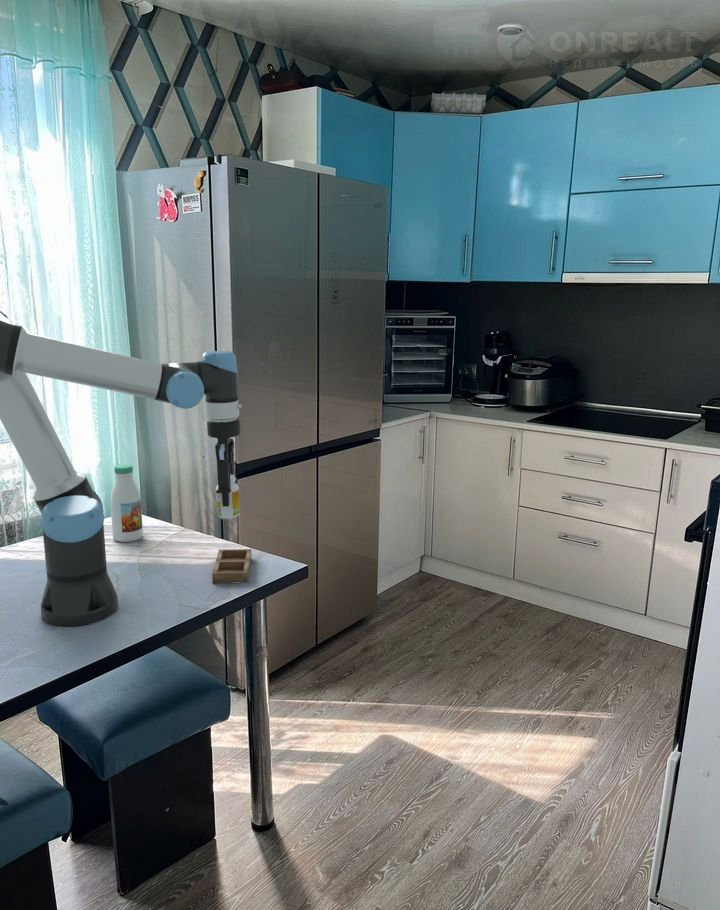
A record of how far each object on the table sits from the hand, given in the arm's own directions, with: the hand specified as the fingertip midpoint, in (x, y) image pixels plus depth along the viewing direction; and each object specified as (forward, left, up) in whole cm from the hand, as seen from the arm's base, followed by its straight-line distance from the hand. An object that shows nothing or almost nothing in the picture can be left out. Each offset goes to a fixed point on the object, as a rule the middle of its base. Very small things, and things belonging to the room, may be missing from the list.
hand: (228, 513), depth 172 cm
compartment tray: (-2, -1, -14) cm, 14 cm away
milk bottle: (+22, +29, -14) cm, 39 cm away
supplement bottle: (0, 0, -1) cm, 1 cm away
